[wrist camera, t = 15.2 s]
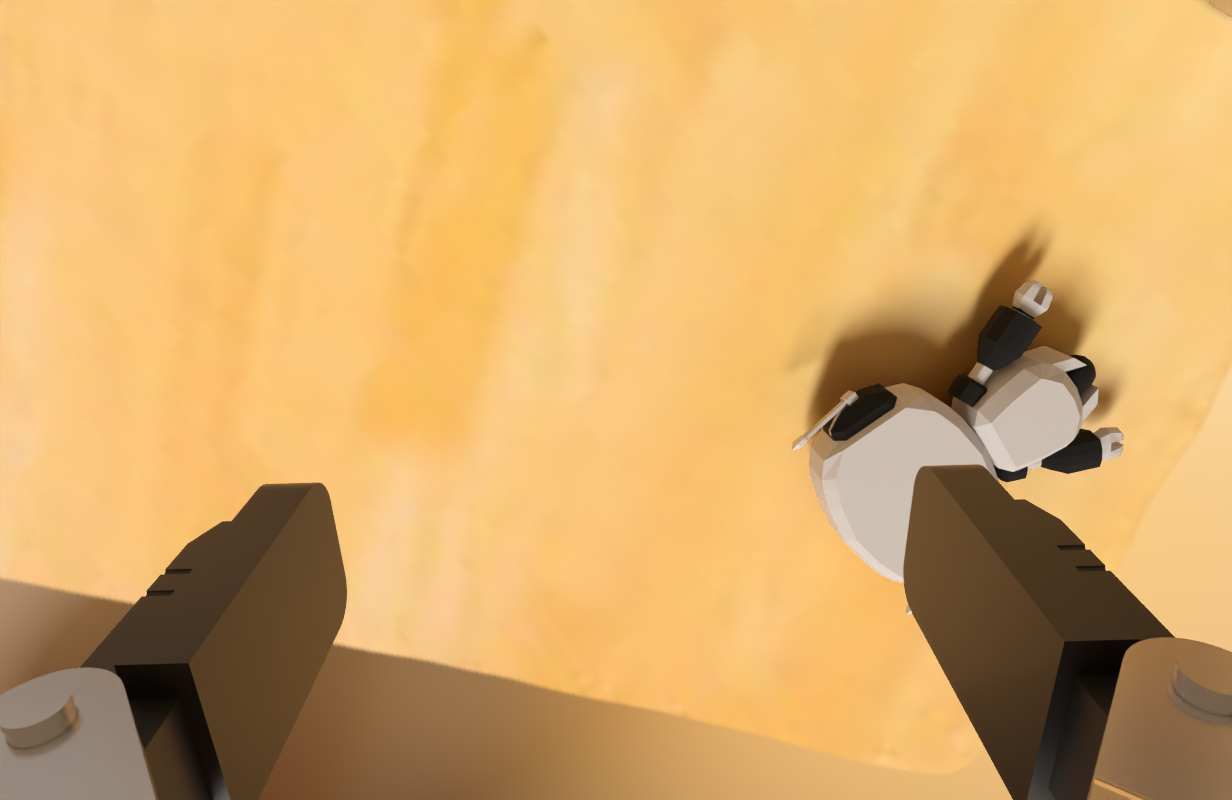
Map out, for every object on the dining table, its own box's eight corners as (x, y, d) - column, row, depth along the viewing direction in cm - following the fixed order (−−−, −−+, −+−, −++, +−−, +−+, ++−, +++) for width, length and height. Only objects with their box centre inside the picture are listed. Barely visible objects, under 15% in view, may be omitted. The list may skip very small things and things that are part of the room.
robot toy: (1005, 253, 40) (759, 424, 42) (1063, 268, 36) (786, 459, 38) (1098, 432, 44) (870, 582, 46) (1160, 465, 40) (906, 629, 42)
